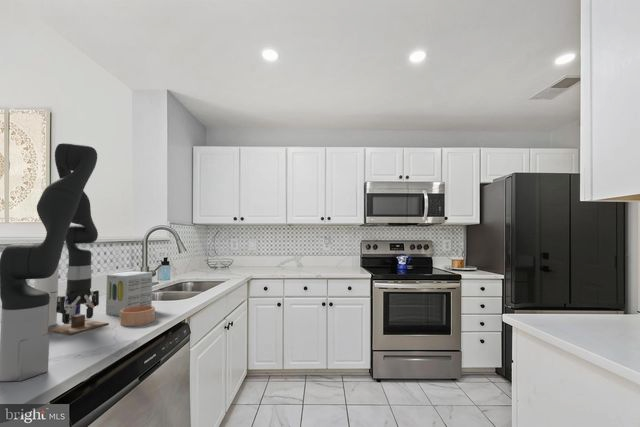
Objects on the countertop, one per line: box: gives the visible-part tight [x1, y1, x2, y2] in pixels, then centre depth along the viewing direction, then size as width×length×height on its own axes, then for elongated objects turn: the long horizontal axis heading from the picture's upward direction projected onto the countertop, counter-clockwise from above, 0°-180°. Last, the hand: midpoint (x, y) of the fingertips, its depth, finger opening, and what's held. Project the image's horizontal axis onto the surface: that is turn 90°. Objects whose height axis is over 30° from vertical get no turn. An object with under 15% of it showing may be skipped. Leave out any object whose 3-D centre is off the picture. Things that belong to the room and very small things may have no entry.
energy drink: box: [64, 288, 82, 319], centre depth 141 cm, size 5×5×12 cm
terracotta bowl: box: [119, 305, 156, 327], centre depth 133 cm, size 12×12×5 cm
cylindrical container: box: [33, 263, 60, 327], centre depth 129 cm, size 7×7×25 cm
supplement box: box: [105, 271, 153, 317], centre depth 149 cm, size 13×13×18 cm
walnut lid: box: [48, 313, 109, 336], centre depth 125 cm, size 14×14×5 cm
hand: (78, 320), depth 125 cm, fingers open, 8 cm apart
